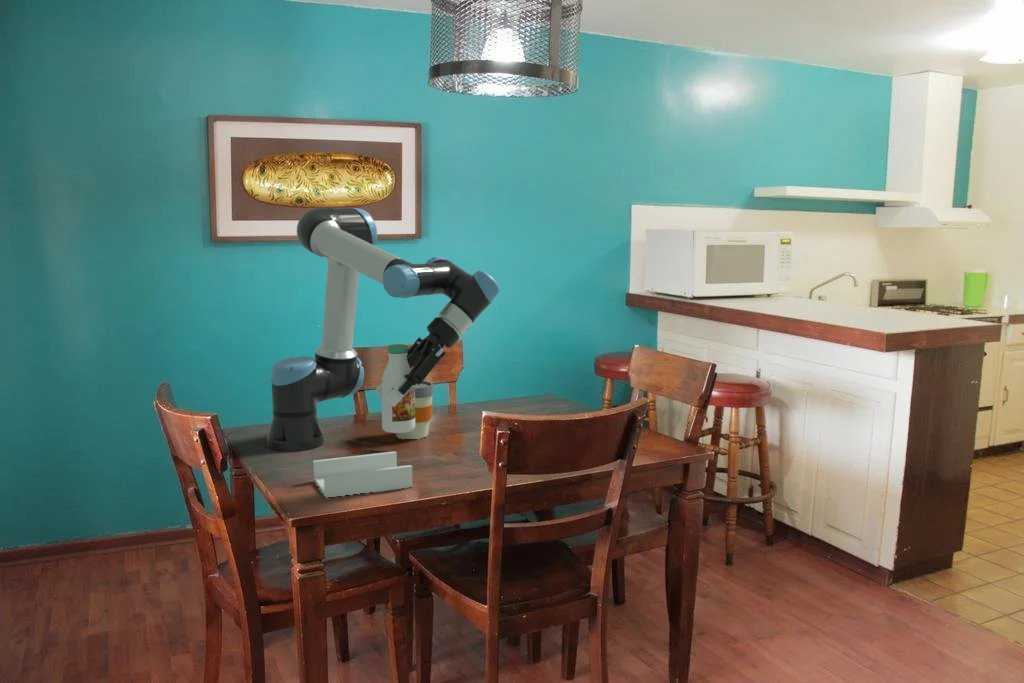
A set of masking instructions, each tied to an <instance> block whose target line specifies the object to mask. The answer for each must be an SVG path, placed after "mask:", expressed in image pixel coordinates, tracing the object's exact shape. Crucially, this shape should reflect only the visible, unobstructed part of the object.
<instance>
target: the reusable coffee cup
mask: <svg viewBox="0 0 1024 683" xmlns="http://www.w3.org/2000/svg"><path fill="white" fill-rule="evenodd" d="M434 391H435V390H434V383H433V382H430V381H426V380H423V381H422V383H421V384H420V385H418V384H416V385H415V428H414V430H412V431H409V432H403V433H395V436H396V438H397V437H398V439H400V438H401V440H404V439H417V440H421V438H423V437H426V436H427V435H428V436H429V429H430V422H431V420H432V417H433V415H432V414H433V410H434V409H433V408H434V403H433V396H434V394H435V392H434ZM428 436H427V437H428ZM427 437H426V438H427ZM423 439H424V438H423Z"/></svg>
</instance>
